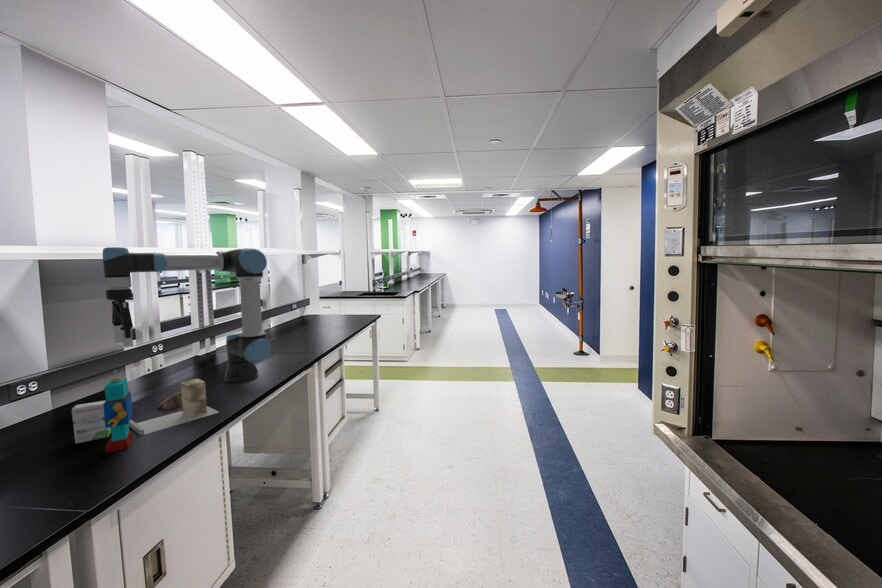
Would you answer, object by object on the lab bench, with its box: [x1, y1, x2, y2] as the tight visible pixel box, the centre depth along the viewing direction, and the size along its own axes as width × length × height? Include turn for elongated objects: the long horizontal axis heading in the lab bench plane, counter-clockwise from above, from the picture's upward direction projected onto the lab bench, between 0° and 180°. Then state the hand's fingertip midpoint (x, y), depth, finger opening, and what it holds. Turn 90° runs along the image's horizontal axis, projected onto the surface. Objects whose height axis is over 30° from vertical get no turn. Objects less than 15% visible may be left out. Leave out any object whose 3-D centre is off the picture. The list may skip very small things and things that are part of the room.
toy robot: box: [103, 369, 134, 454], centre depth 125 cm, size 12×6×25 cm, turn 31°
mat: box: [129, 405, 220, 436], centre depth 146 cm, size 25×14×2 cm, turn 142°
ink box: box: [71, 400, 112, 444], centre depth 131 cm, size 9×5×12 cm, turn 121°
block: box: [180, 378, 208, 418], centre depth 151 cm, size 6×7×12 cm
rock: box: [157, 390, 182, 410], centre depth 163 cm, size 15×10×6 cm
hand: (124, 344), depth 149 cm, fingers open, 13 cm apart
